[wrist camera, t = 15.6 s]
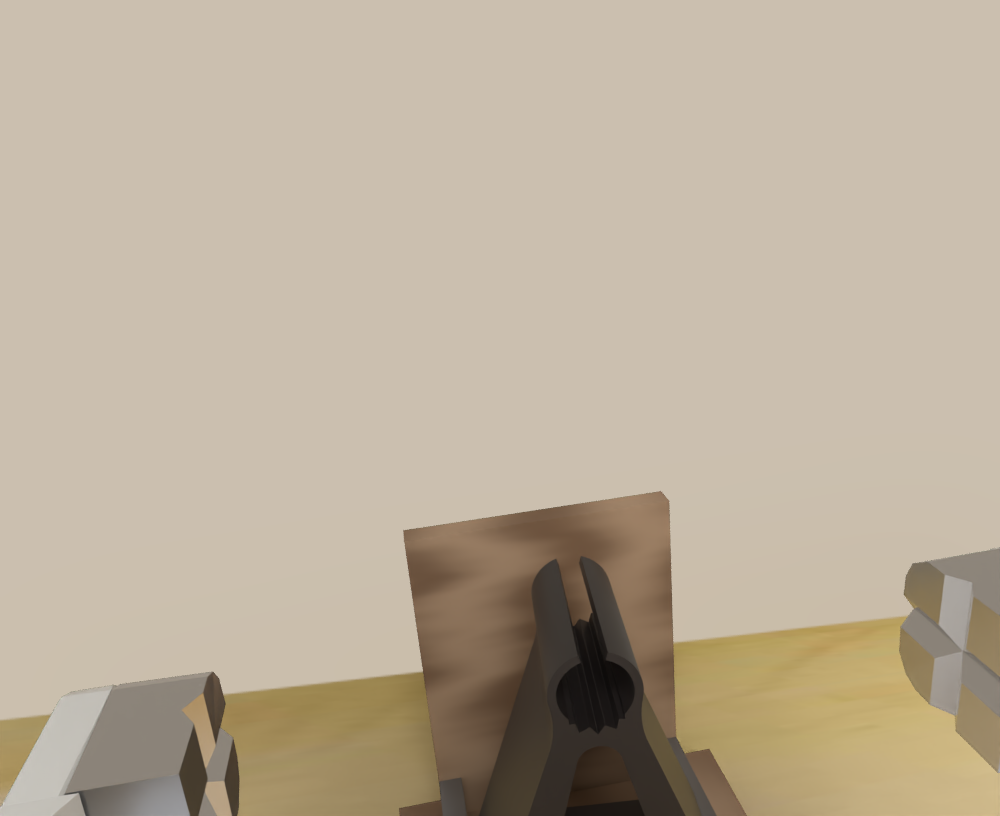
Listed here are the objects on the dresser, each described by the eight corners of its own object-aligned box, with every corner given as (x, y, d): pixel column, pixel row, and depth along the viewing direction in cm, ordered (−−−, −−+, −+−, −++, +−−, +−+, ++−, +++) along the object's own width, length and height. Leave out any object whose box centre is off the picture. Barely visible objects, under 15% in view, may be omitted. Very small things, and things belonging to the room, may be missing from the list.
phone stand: (694, 800, 34) (689, 544, 30) (740, 934, 28) (740, 639, 25) (480, 822, 34) (447, 568, 30) (482, 960, 28) (443, 669, 25)
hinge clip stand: (422, 1194, 25) (346, 794, 20) (402, 810, 40) (354, 522, 35) (876, 1082, 27) (908, 689, 22) (698, 753, 41) (693, 472, 36)
